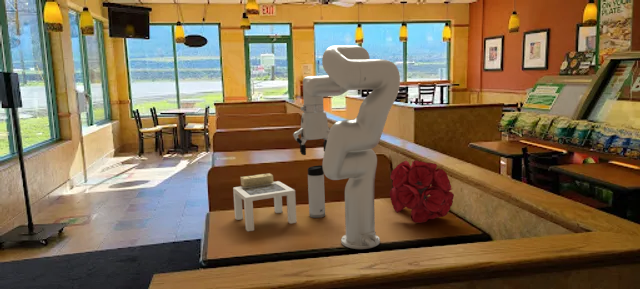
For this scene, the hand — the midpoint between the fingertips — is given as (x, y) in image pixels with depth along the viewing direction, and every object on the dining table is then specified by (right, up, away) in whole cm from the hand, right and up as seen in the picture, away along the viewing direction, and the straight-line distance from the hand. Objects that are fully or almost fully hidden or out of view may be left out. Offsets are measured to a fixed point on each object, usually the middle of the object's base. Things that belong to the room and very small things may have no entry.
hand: (315, 153), depth 171 cm
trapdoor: (-21, -14, 0) cm, 25 cm away
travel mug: (+1, -25, +3) cm, 25 cm away
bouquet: (+39, -25, -4) cm, 46 cm away
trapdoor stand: (-19, -26, -1) cm, 32 cm away
